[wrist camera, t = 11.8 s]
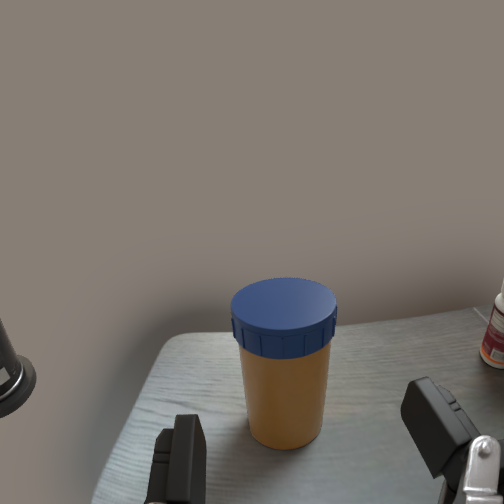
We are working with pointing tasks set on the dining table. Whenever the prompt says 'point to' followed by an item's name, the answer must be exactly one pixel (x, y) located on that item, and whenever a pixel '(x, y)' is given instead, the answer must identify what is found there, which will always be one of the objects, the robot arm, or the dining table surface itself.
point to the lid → (284, 317)
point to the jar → (285, 397)
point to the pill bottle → (495, 335)
